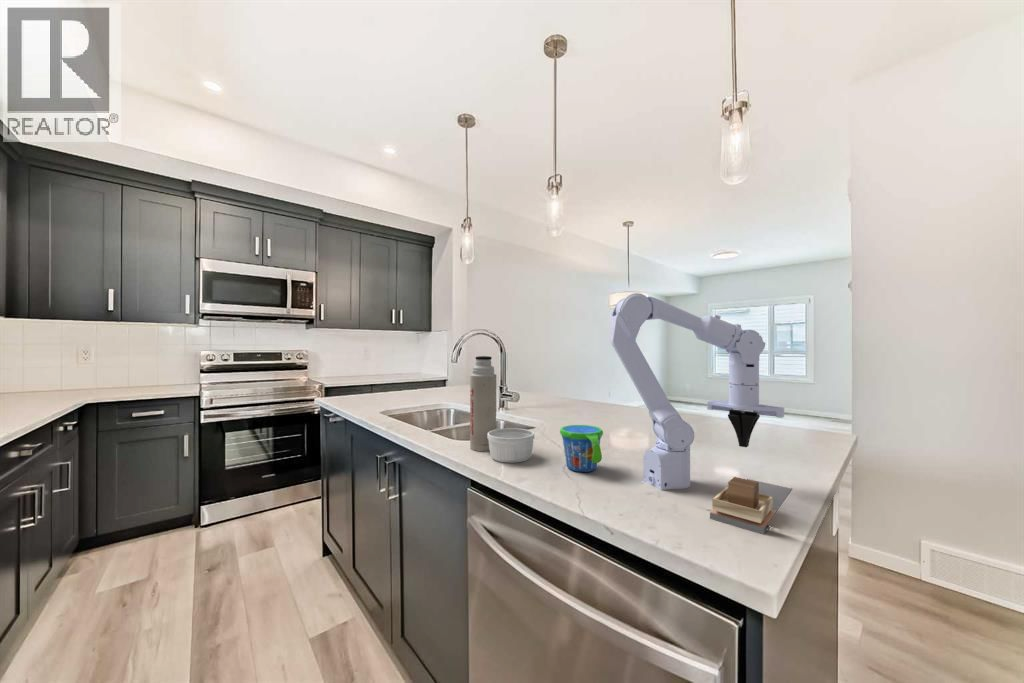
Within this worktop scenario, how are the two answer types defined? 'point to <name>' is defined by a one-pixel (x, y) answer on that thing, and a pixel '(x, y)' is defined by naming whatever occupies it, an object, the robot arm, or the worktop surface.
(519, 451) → the ramekin
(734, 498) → the block
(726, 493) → the shallow wooden tray
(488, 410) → the thermos bottle
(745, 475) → the worktop surface
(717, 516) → the track
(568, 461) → the snack cup
